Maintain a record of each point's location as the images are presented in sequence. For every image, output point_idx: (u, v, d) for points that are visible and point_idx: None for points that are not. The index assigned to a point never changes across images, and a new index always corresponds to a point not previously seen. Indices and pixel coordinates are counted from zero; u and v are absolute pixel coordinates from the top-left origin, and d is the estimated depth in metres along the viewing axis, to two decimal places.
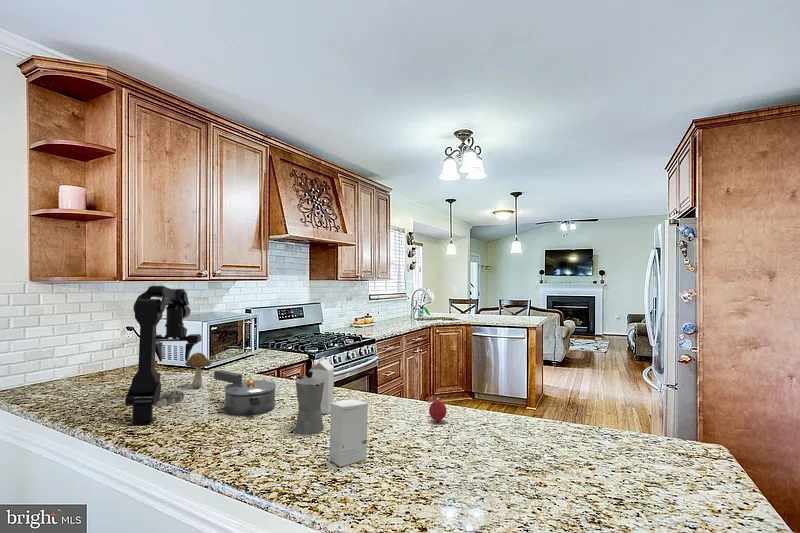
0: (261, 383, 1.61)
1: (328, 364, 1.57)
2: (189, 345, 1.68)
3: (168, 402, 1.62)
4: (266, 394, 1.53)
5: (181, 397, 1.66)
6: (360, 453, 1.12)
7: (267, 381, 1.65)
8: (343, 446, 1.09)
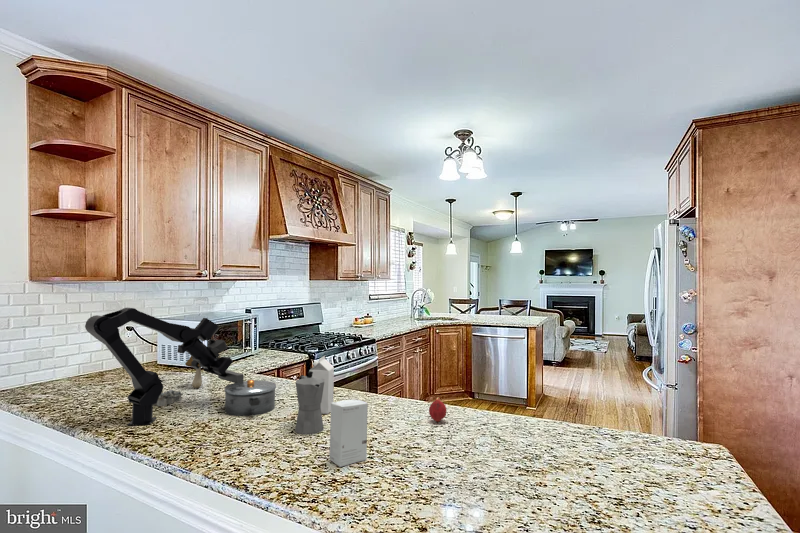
0: (262, 383, 1.61)
1: (328, 364, 1.57)
2: (213, 373, 1.59)
3: (167, 402, 1.63)
4: (266, 394, 1.53)
5: (179, 396, 1.67)
6: (360, 453, 1.12)
7: (268, 381, 1.64)
8: (343, 446, 1.09)
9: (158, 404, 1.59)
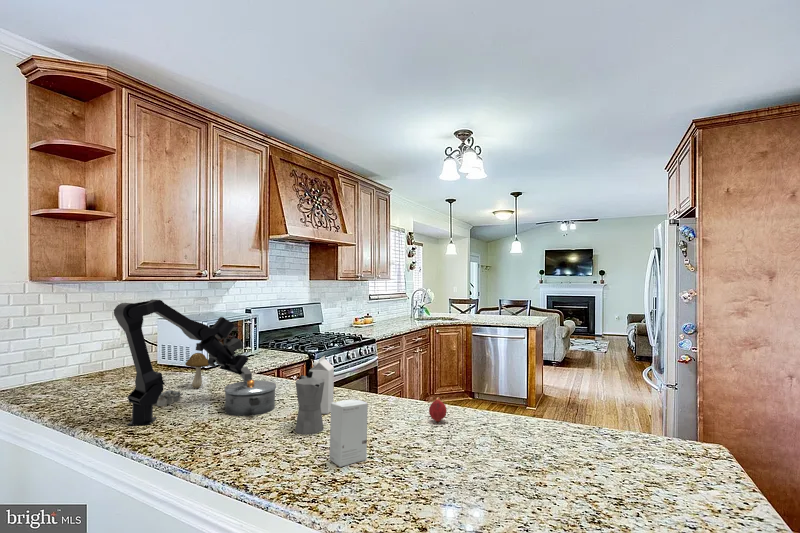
0: (264, 384, 1.60)
1: (328, 364, 1.57)
2: (229, 370, 1.65)
3: (167, 402, 1.63)
4: (266, 394, 1.53)
5: (179, 396, 1.67)
6: (360, 453, 1.12)
7: (273, 383, 1.62)
8: (343, 446, 1.09)
9: (158, 404, 1.59)
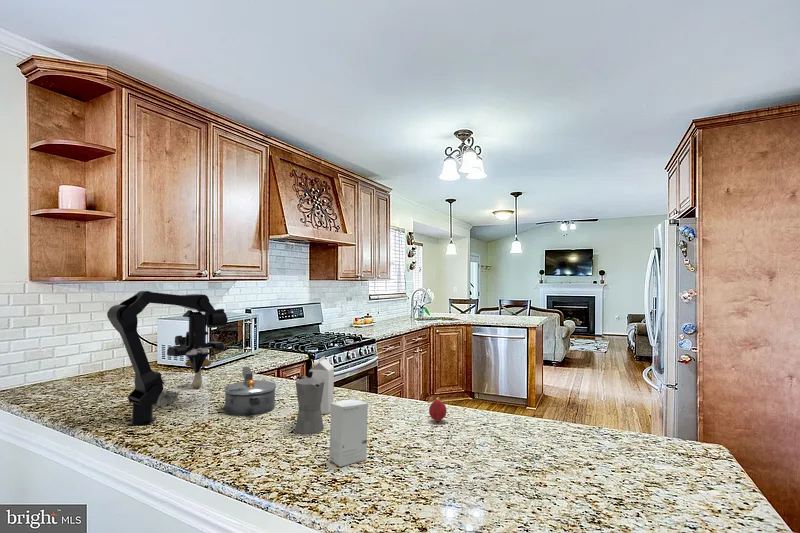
0: (264, 384, 1.59)
1: (328, 364, 1.57)
2: (206, 354, 1.56)
3: (166, 401, 1.63)
4: (266, 394, 1.53)
5: (176, 396, 1.67)
6: (360, 453, 1.12)
7: (273, 383, 1.62)
8: (343, 446, 1.09)
9: (158, 404, 1.59)
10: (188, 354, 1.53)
